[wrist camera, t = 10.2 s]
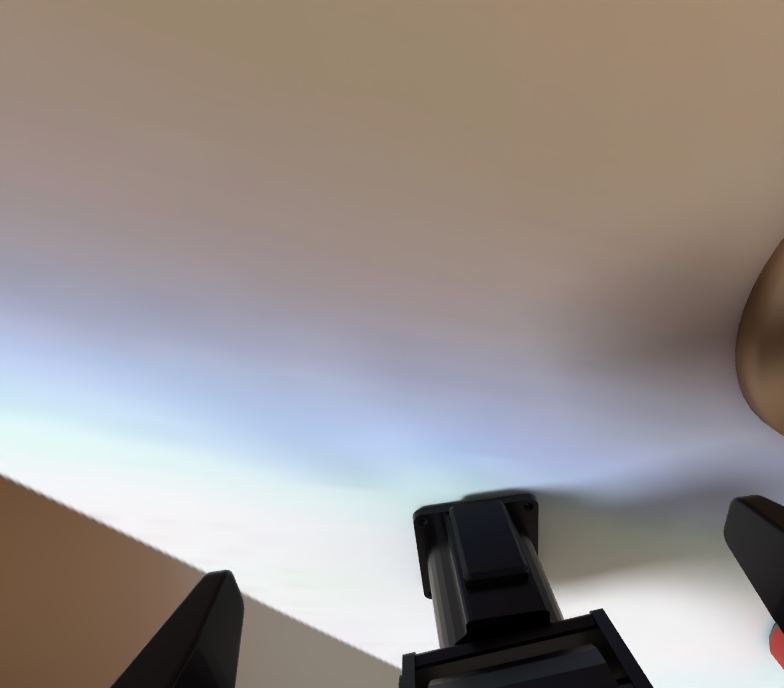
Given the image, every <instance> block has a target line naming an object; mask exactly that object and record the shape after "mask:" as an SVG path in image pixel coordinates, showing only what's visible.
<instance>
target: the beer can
mask: <svg viewBox="0 0 784 688" xmlns="http://www.w3.org/2000/svg"><path fill="white" fill-rule="evenodd" d="M769 645H770V652H771V654H772V655H773V656H774V658H775V659H776V660H777V661H778V663H779V664H780V665H781V666H782V668H783V669H784V634H783V633H782V631H781V629H780V628H779V626H778V625H777V623H776V624H775V625H774V627H773V629H772V632H771V634H770V637H769Z"/></svg>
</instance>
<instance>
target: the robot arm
mask: <svg viewBox="0 0 784 688" xmlns="http://www.w3.org/2000/svg"><path fill="white" fill-rule="evenodd" d="M528 503H529V504H528ZM526 504H528V505H526ZM422 518H425V519H423V520H420V519H422ZM413 523H414V530H415V536H416V543H417V550H418V557H419V563H420V570H421V577H422V583H423V590H424V595H425V597H426V598H429V599H432V600H433V606H434V613H435V620H436V626H437V633H438V640H439V646H440V649H436V650H432V651H428V652H423V653H419V654H416V653H415V652H413V653H408V654H404V655H403V658H402V675H400V678H399V688H653V686H652V685H651V683H650V682H649V680H648V678H647V677H646V675H645V674H644V672H643V671H642V669H641V668H640V666H639V664H638V663H637V661H636V660H635V658H634V657H633V655H632V653H631V652H630V650H629V649H628V647H627V646H626V644H625V643H624V641H623V639H622V638H621V636H620V635H619V633H618V632H617V630H616V628H615V627H614V625H613V624H612V622H611V621H610V619H609V618H608V616H607V614H606V613H605V611H604V610H603V608H602V609H597V610H593V611H590V614H587V615H583V616H578V617H574V618H570V619H565V620H564V618H563V615H562V613H561V611H560V608H559V606H558V604H557V601H556V599H555V596H554V594H553V592H552V589H551V587H550V584H549V582H548V580H547V577H546V575H545V573H544V570H543V568H542V565H541V563H540V561H539V558H538V502H537V500H536V498H535V497H534V496H533V495H531V494H522V495H515V496H508V497H501V498H495V499H488V500H481V501H474V502H467V503H460V504H453V505H446V506H439V507H432V508H425V509H420V510H417V511H416V512H415V513H414V514H413ZM724 537H725V540H726V543H727V545H728V547H729V548H730V550H731V552H732V553H733V555H734V556H735V558H736V560H737V561H738V563H739V564H740V566H741V568H742V569H743V571H744V572H745V574H746V576H747V577H748V579H749V580H750V582H751V584H752V585H753V587H754V588H755V590H756V592H757V593H758V595H759V596H760V598H761V600H762V601H763V603H764V604H765V606H766V608H767V609H768V611H769V613H770V614H771V616H772V617H773V619H774V620H775V622H776V623H777V625H778V626H779V628H780V629H781V631H782V633H783V634H784V506H782V505H780V504H778V503H776V502H773V501H771V500H769V499H767V498H765V497H762V496H759V495H750V496H743V497H737V498H734V499H733V500H732V501H731V503H730V506H729V510H728V514H727V518H726V522H725V526H724ZM243 618H244V601H243V598H242V595H241V593H240V590H239V588H238V585H237V583H236V580H235V578H234V575H233V573H232V572H231V571H230V570H221V571H214V572H209V573H207V574H206V575H204V576H203V577H202V579H201V580H200V581H199V582H198V583H197V584H196V585H195V587H194V588H193V589H192V590H191V591H190V593H189V594H188V595H187V596H186V597H185V599H184V600H183V601H182V602H181V603H180V604H179V606H178V607H177V608H176V609H175V610H174V612H173V613H172V614H171V615H170V616H169V618H168V619H167V620H166V621H165V622H164V623H163V625H162V626H161V627H160V628H159V629H158V631H157V632H156V633H155V634H154V635H153V637H152V638H151V639H150V640H149V641H148V642H147V644H146V645H145V646H144V647H143V648H142V650H141V651H140V652H139V653H138V654H137V656H136V657H135V658H134V659H133V660H132V661H131V663H130V664H129V665H128V666H127V668H126V669H125V670H124V671H123V672H122V673H121V675H120V676H119V677H118V678H117V679H116V680H115V682H114V683H113V684H112V685H111V686H110V687H109V688H235V683H236V675H237V666H238V658H239V651H240V642H241V634H242V626H243Z"/></svg>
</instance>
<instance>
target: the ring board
mask: <svg viewBox="0 0 784 688" xmlns="http://www.w3.org/2000/svg"><path fill="white" fill-rule="evenodd" d="M736 371H737V376H738V382H739V385H740V388H741V391H742V393H743V396H744V398H745V400H746V401H747V403H748V405H749V406H750V408H751V409H752V411H753V412H754V413H755V414H756V415H757V416H758V417H759V418H760V419H761V420H762V421H763V422H765V423H766V424H767V425H769V426H770V427H772V428H773V429H774V430H776V431H777V432H779V433H780V434H781V435H783V436H784V239H783V240H782V242H781V243H780V244H779V246H778V247H777V249H776V250H775V252H774V253H773V255H772V256H771V257H770V259H769V260H768V262H767V263H766V265H765V266H764V268H763V270H762V272H761V274H760V276H759V278H758V279H757V281H756V283H755V285H754V287H753V289H752V291H751V294H750V296H749V299H748V301H747V303H746V306H745V308H744V311H743V315H742V318H741V322H740V326H739V329H738V336H737V343H736Z"/></svg>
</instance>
